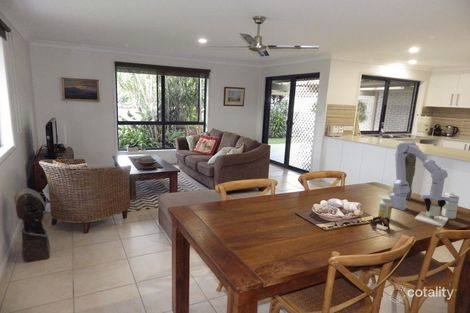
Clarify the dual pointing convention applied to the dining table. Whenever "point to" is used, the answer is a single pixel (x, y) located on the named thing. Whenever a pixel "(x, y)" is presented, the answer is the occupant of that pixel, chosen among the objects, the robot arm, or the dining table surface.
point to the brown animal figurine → (384, 220)
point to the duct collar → (434, 210)
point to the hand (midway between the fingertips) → (432, 211)
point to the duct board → (431, 219)
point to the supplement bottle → (385, 207)
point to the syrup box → (450, 206)
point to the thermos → (410, 170)
